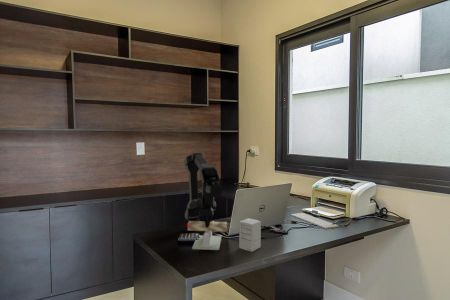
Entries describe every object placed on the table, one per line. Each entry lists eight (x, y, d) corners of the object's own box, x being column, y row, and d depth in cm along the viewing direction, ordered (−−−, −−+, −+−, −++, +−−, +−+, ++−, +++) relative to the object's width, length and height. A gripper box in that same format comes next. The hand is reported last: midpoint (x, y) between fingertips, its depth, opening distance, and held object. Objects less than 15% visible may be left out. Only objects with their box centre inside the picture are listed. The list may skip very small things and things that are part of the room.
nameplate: (293, 230, 166) (279, 233, 161) (293, 233, 167) (279, 236, 161) (262, 218, 190) (248, 220, 185) (262, 220, 190) (248, 223, 185)
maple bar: (226, 229, 151) (226, 221, 150) (226, 231, 147) (226, 224, 147) (189, 228, 151) (189, 221, 151) (188, 230, 148) (188, 223, 148)
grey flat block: (305, 214, 207) (290, 216, 202) (305, 210, 207) (290, 212, 202) (341, 227, 179) (325, 230, 174) (341, 222, 179) (325, 225, 174)
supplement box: (247, 243, 150) (248, 217, 149) (261, 247, 145) (261, 220, 144) (238, 248, 144) (239, 221, 143) (251, 252, 139) (252, 224, 138)
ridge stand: (197, 237, 158) (197, 224, 157) (221, 238, 157) (221, 225, 157) (192, 249, 142) (192, 234, 142) (218, 249, 141) (219, 235, 141)
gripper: (194, 189, 158) (194, 219, 159) (187, 196, 139) (187, 231, 140) (216, 189, 157) (215, 220, 158) (212, 197, 139) (212, 232, 140)
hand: (207, 225), depth 149 cm, fingers open, 5 cm apart
